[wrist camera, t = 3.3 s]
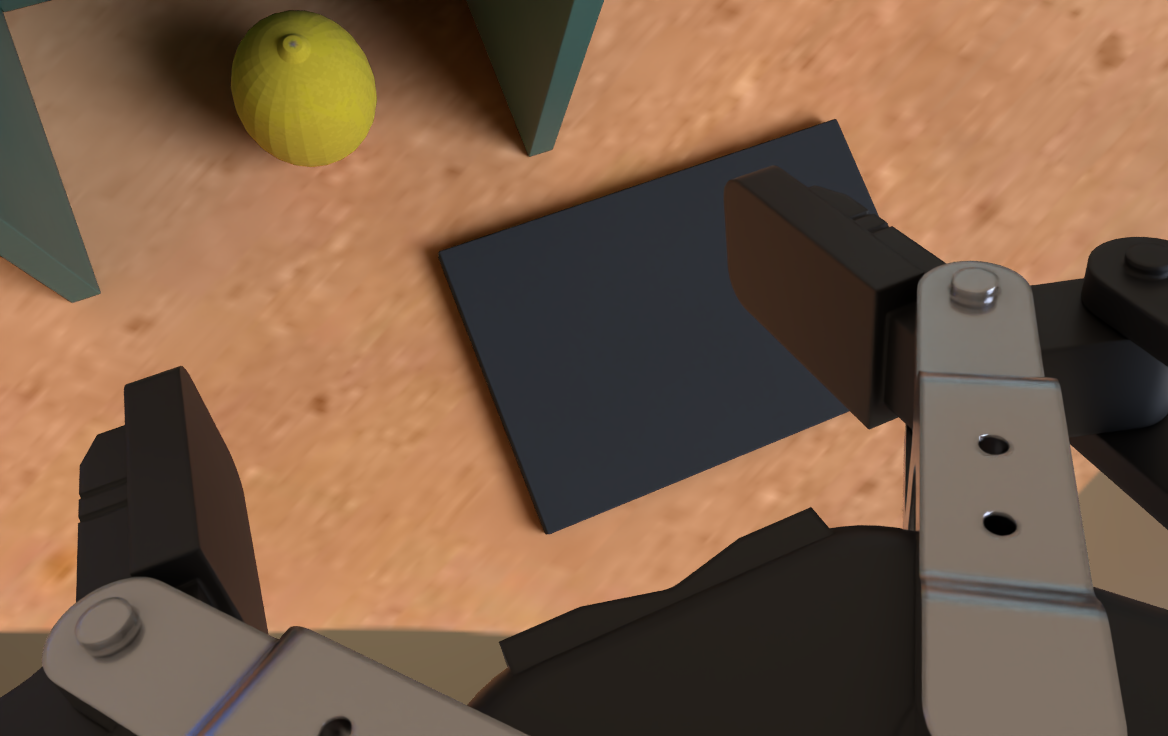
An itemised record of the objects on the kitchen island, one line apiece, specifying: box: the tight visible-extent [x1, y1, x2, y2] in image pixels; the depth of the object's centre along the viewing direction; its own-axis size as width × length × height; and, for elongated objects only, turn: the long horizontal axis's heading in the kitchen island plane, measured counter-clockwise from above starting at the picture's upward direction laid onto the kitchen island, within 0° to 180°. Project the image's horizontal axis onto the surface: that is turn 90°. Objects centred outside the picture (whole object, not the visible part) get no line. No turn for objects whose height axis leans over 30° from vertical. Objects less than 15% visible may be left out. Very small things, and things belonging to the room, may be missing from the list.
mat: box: [438, 119, 879, 534], centre depth 44 cm, size 20×13×1 cm, turn 112°
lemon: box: [231, 10, 377, 167], centre depth 39 cm, size 6×6×8 cm
